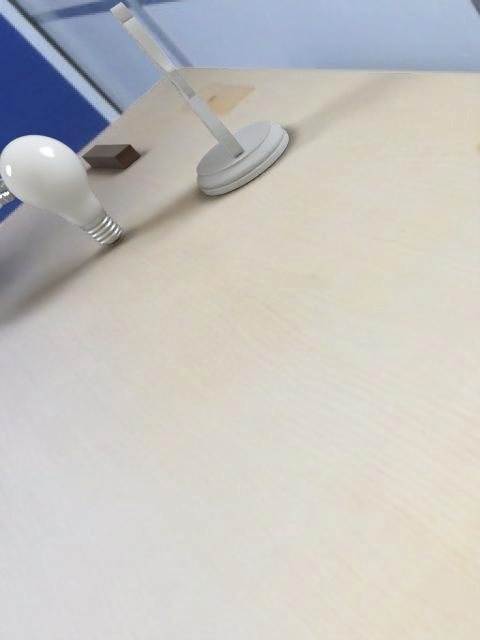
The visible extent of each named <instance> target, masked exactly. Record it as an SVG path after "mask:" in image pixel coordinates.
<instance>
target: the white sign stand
mask: <svg viewBox="0 0 480 640" xmlns="http://www.w3.org/2000/svg"><path fill="white" fill-rule="evenodd" d="M109 11H111V13H112V14H113V16H114V18H115V19H116V20H117V21H118V23H120V25H121V26H122V27H123V28H124V30H125V31H126V32H127V34H128V35H129V36H130V37H131V39H133V41H134V42H135V43H136V45H137V46H138V47H139V48H140V50H142V52H143V53H144V54H145V56H147V58H148V59H149V60H150V61H151V63H152V64H153V65H154V66H155V68H156V69H157V70H158V71H159V72H160V73H161V75H162V76H163V77H164V79H166V80H167V82H168V83H169V84H170V85H171V87H172V88H173V89H174V90H175V91H176V92H177V94H178V95H179V96H180V97H181V98H182V100H183V101H184V102H185V104H187V105H188V107H189V109H191V110H192V112H193V113H194V114H195V115H196V117H197V118H198V119H199V120H200V122H201V123H202V124H203V126H205V128H206V129H207V130H208V132H210V133H211V135H212V136H213V137H214V138H215V140H216V141H217V143H216V144H215V145H213V147H211V148H210V149H209V150H208V151H207V152H206V153H205V155H204V156H202V158H201V159H200V160H199V162H198V164H197V166H196V170H195V171H196V174H197V175H196V183H197V185H198V186H199V188H200V190H201V191H202V192H203V193H204V194H205V195H207V196H220V195H224V194H227V193H229V192H232V191H234V190H236V189H238V188H240V187H242V186H244V185H246V184H247V183H250V182H251V181H252V180H254V179H256V178H257V177H258V176H259V175H261V174H262V173H264V172H265V171H266V170H267V169H268V168H270V167H271V166H272V165H273V164H274V163H275V162H276V161H277V160H278V159H279V158H280V157H281V155H282V154H283V153H284V152H285V150H286V149H287V147H288V145H289V141H290V137H289V134H288V133H287V131H286V130H285V129H284V128H282V126H281V125H279V124H277V123H271V122H270V121H268V120H259V121H255V122H252V123H249V124H247V125H244V126H243V127H240V128H238V129H237V130H235V131H232V132H230V130H229V129H228V128H227V127H226V125H225V124H224V123H223V122H222V120H221V119H220V118H219V117H218V116H217V115H216V113H215V112H214V111H213V110H212V109H211V108H210V107H209V106H208V104H207V103H206V102H205V101H204V99H203V98H202V97H201V96H200V94H198V92H196V90H195V89H194V87H192V86H191V84H190V83H189V82H188V81H187V80H186V78H185V77H184V76H183V75H182V74H181V72H180V71H179V70H178V68H177V67H176V66H175V64H174V63H173V62H172V61H171V60H170V58H169V57H168V56H167V55H166V53H165V52H164V50H162V48H161V47H160V46H159V44H158V43H157V42H156V41H155V40H154V38H153V37H152V35H151V34H150V33H149V32H148V30H147V29H146V28H145V27H144V26H143V24H141V22H140V21H139V20H138V19H137V18H136V16H134V14H132V12H131V10H129V8H127V6H126V5H125V4H124V3H123V2H122V1H120V2H118V3H117V4H116V5H114V6H113V7H111V8H110V9H109Z"/></svg>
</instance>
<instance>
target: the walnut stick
mask: <svg viewBox="0 0 480 640" xmlns="http://www.w3.org/2000/svg"><path fill="white" fill-rule="evenodd" d="M140 157H141V154H140V153H139V152H138V151H137V150H136V149H135V148H134V147H133V146H132V145H131V143H122V144H121V143H117V144H115V143H113V144H95V145H93V146H92V148H90V149H89V150H88V151H87V152H85V153H84V154H83V155H82V156H81V158H82V159H83V160H84V161H85V162H86V163H87V164H88V165H89V166H90V167H91V168H93V169H94V168H95V169H96V168H97V169H103V168H104V169H127V168H128V167H129V166H131V165H132V164H133V163H134V162H135V161H137V160H138V159H139V158H140Z"/></svg>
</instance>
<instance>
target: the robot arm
mask: <svg viewBox="0 0 480 640" xmlns="http://www.w3.org/2000/svg"><path fill="white" fill-rule="evenodd" d="M15 199H17V197H16V196H14V195H13V194H12V193H11V192H10V190H9V189H8V188H7V187H6V185H5V184H4V182H3V180H2V177H0V210H1V209H2V208H3V206H5V205H7V204H9V203H10V202H13V201H14V200H15Z"/></svg>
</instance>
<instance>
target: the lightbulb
mask: <svg viewBox="0 0 480 640" xmlns="http://www.w3.org/2000/svg"><path fill="white" fill-rule="evenodd" d="M0 178H2V180H3V182H4V184H5V185H6V187H7V188H8V189H9V190H10V192H11V193H12V194H13V195H14V196H16V199H18V200H20V201H21V202H22V203H24V204H26V205H28V206H30V207H32V208H35V209H37V210H41V211H44V212H48V213H52V214H54V215H56V216H59V217H60V218H63V219H64V220H66V221H67V222H69V223H70V224H72V225H74V226H78V227H79V228H80V229H81V230H82V231H84V232H86V235H89V236H90V238H91V239H93V240H94V242H97V244H98V246H100V247H105V246H115V245H116V244H118V243H119V242H121V239H122V235H123V230H124V229H123V227H122V226H121V224H119V223H118V222H117V221H116V220H114V218H113V217H112V216H110V214H109V213H107V211H106V210H105V209H104V208H103V207H102V204H101V202H100V200H99V199H98V198H97V196H96V194H95V193H94V192H93V190H92V187H91V183H90V181H89V177H88V173H87V171H86V168H85V165H84V163H83V161H82V160H81V158H80V156H79V155H78V154H77V153H76V152H75V151H74V150H73V149H72V148H70V147H69V146H68V145H66V144H65V143H64V142H62V141H60V140H58V139H55V138H52V137H49V136H45V135H41V134H39V135H38V134H29V135H23V136H20V137H17V138H15V139H13V140H12V141H10V142H9V143H8V144H7V145H5V146H4V148H3V149H2V151H1V153H0Z"/></svg>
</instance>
